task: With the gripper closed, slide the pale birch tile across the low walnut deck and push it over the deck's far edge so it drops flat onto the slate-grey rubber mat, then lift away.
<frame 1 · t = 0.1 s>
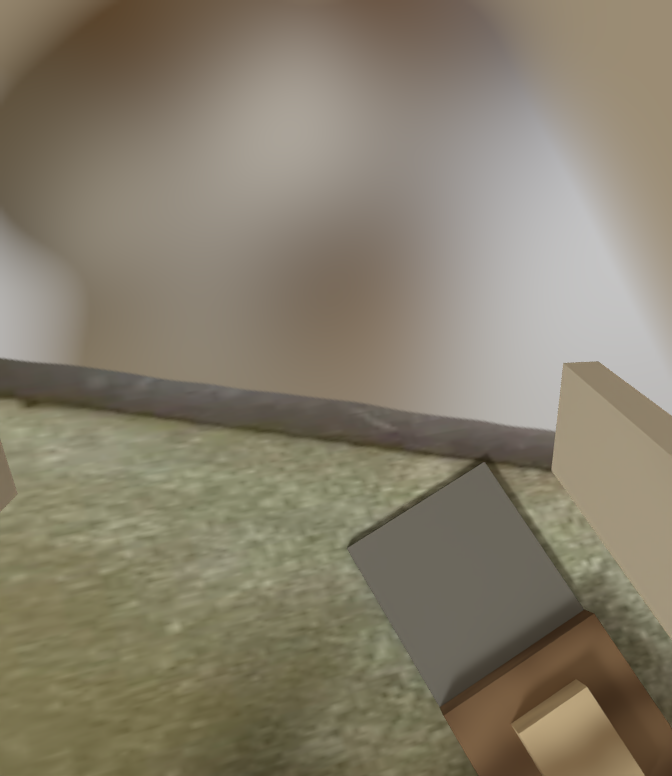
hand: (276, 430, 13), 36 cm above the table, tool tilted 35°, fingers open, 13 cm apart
birch tile: (576, 753, 40), point 2 cm above the table, touching walnut deck
slate mat: (461, 577, 45), on the table
walnut deck: (555, 727, 43), on the table
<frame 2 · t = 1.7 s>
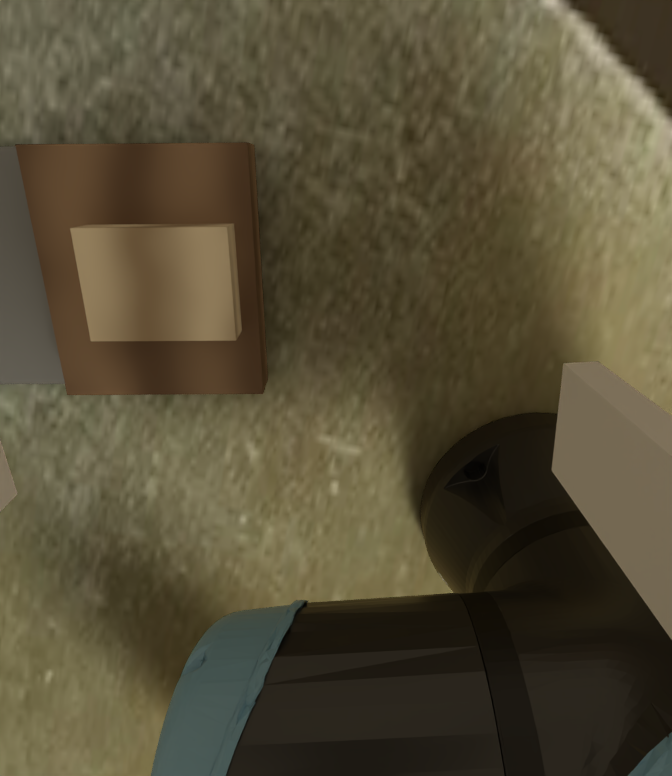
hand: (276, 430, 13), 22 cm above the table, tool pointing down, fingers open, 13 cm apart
birch tile: (167, 279, 31), point 2 cm above the table, touching walnut deck
walnut deck: (162, 271, 33), on the table
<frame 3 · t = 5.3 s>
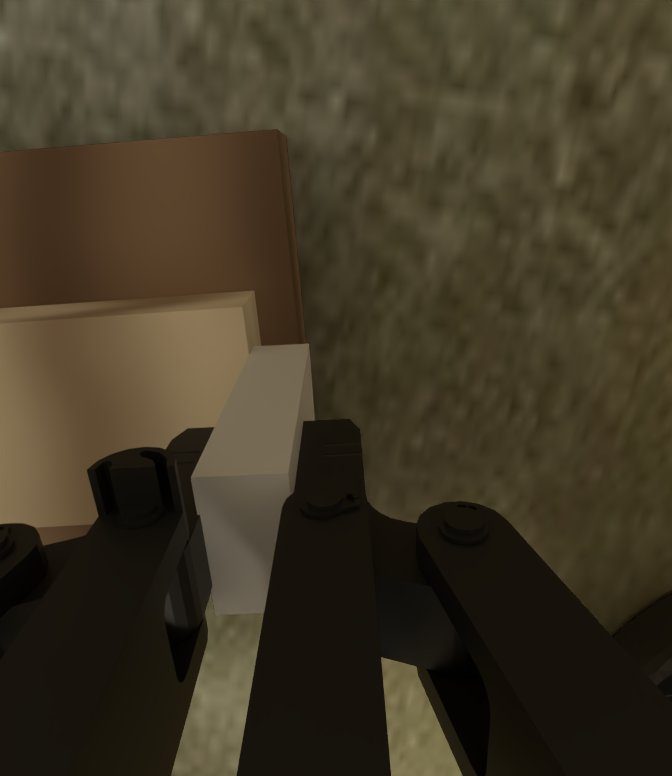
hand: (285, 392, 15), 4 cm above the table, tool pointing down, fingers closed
birch tile: (134, 398, 16), point 3 cm above the table, touching gripper
walnut deck: (134, 373, 19), on the table
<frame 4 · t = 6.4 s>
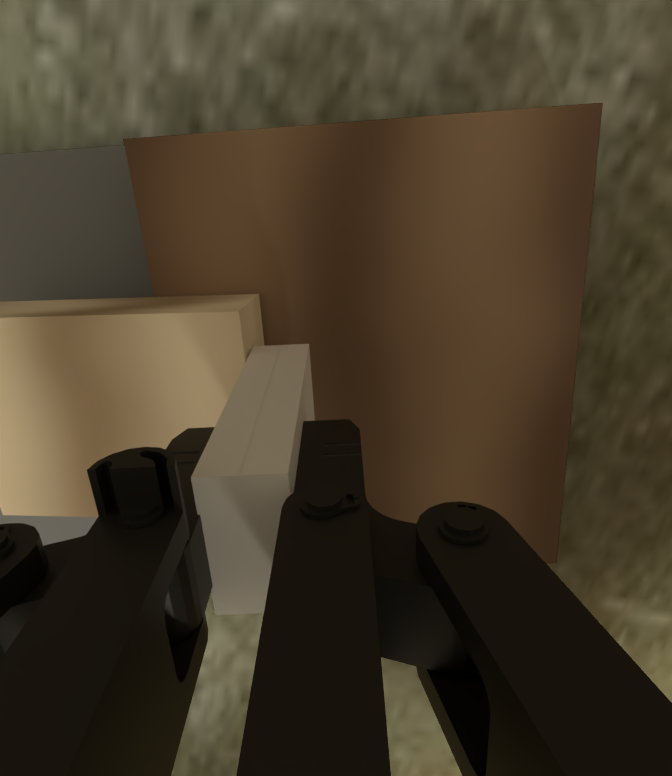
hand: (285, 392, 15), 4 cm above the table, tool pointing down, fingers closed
birch tile: (140, 395, 16), point 2 cm above the table, tilted 6°, touching gripper
walnut deck: (367, 355, 18), on the table
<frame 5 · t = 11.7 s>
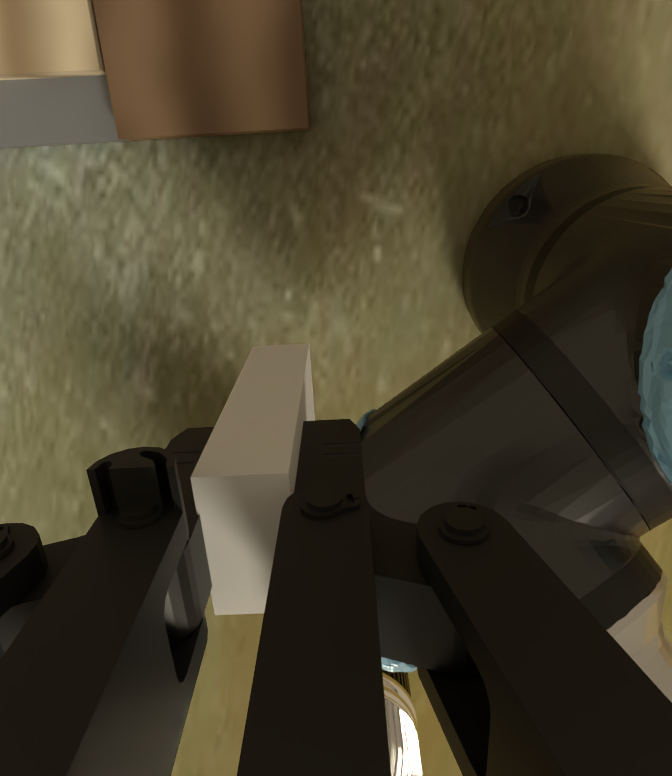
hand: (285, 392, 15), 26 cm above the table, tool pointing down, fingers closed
birch tile: (38, 22, 33), point 1 cm above the table, touching slate mat
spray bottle: (337, 562, 50), on the table
walnut deck: (205, 11, 34), on the table
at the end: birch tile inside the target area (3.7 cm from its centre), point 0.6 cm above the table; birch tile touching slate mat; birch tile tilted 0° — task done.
